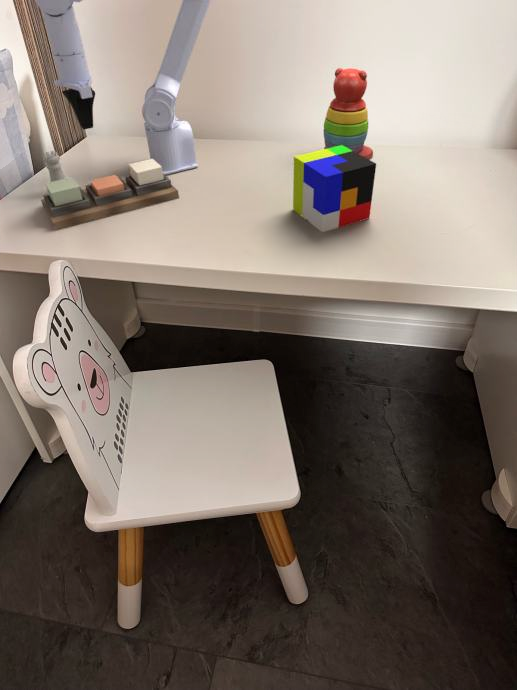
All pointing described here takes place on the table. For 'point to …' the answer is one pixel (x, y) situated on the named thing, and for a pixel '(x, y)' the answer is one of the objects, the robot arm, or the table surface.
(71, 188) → the sage button
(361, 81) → the stacking bear
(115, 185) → the terracotta button
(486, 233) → the table surface
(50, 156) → the rook chess piece
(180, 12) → the robot arm
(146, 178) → the cream button
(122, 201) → the button board
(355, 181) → the puzzle toy
